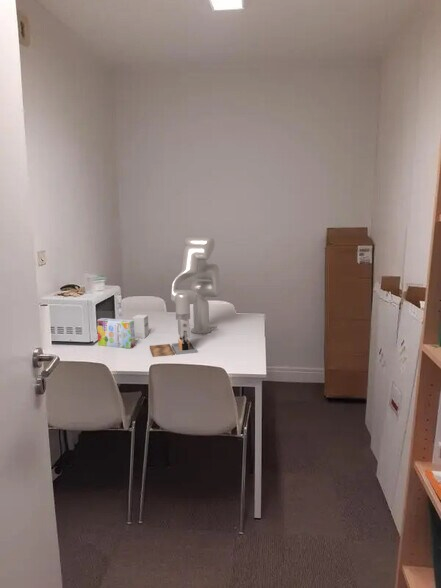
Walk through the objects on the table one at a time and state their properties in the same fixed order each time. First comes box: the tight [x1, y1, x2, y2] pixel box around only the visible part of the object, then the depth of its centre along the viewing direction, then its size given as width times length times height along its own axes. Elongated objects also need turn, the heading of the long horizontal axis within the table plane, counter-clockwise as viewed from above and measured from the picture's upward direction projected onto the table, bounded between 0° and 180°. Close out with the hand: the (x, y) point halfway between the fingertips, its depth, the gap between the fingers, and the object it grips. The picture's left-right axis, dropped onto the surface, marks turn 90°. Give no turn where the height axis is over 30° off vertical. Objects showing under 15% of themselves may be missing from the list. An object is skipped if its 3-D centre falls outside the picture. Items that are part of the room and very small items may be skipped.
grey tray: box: [171, 341, 198, 356], centre depth 240 cm, size 11×14×2 cm
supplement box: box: [132, 314, 150, 339], centre depth 267 cm, size 7×7×13 cm
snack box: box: [96, 317, 136, 349], centre depth 250 cm, size 21×6×15 cm, turn 71°
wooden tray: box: [149, 343, 175, 358], centre depth 237 cm, size 11×14×2 cm
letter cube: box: [177, 339, 190, 351], centre depth 240 cm, size 5×5×5 cm
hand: (183, 348), depth 240 cm, fingers open, 6 cm apart
